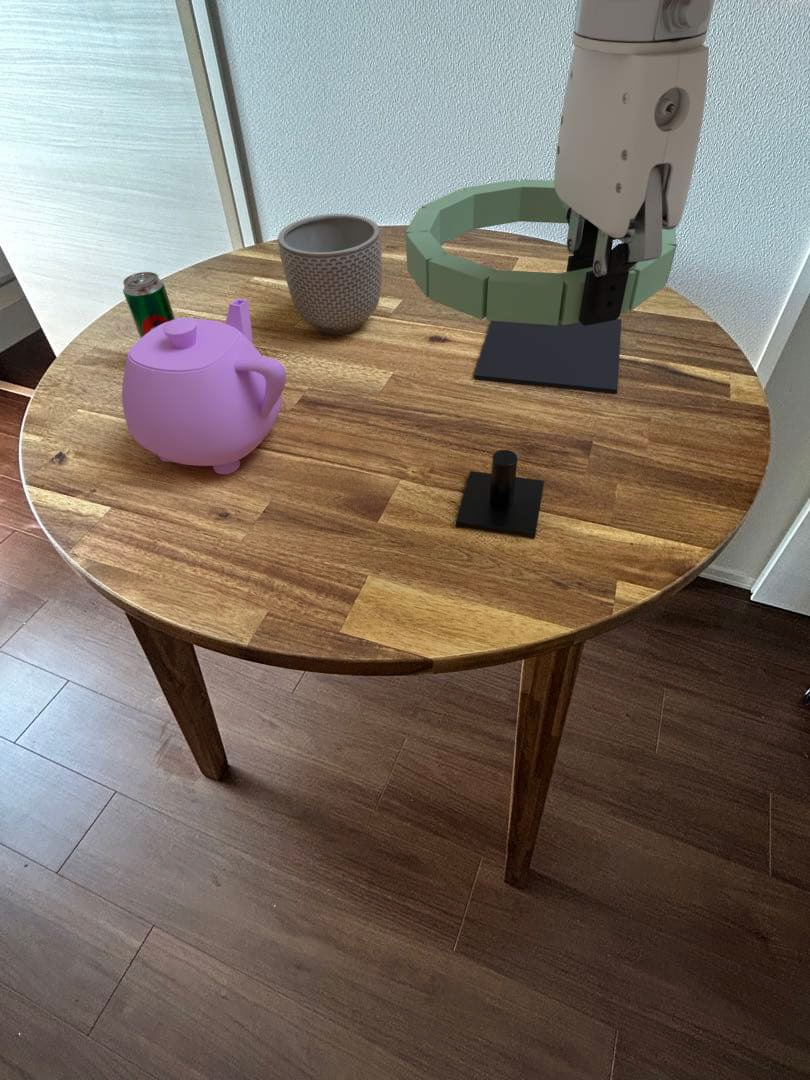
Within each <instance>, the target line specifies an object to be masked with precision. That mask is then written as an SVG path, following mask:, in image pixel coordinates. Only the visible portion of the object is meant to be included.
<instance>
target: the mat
mask: <svg viewBox="0 0 810 1080" xmlns="http://www.w3.org/2000/svg"><path fill="white" fill-rule="evenodd" d="M621 333H622V319H621V318H618V319H616V320H612V321H607V322H602V323H597V324H592V325H587V326H584V325H582V324H581V323H580V322H577V323H572V324H568V325H562V324H561V323H560V322H558V325H543V324H529V323H515V322H501V321H490V325H489V327H488V331H487V334H486V337H485V340H484V343H483V346H482V348H481V352H480V355H479V358H478V361H477V364H476V367H475V371H474V374H473V379H474V380H482V381H492V382H500V383H501V382H502V383H509V384H511V383H512V384H519V385H520V384H521V385H531V386H541V387H548V388H549V387H550V388H559V389H569V390H579V391H587V392H599V393H607V394H618V389H619V373H620V372H619V370H620V353H621V352H620V351H621V350H620V349H621Z"/></svg>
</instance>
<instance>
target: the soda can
mask: <svg viewBox="0 0 810 1080" xmlns="http://www.w3.org/2000/svg"><path fill="white" fill-rule="evenodd" d="M122 284H123V289H122V293H123V295H124V298H125V301H126V303H127V306H128V309H129V311H130V314H131V317H132V319H133V322H134V325H135V328H136V331H137V334H138V336H139V339H141V338H142V337H143V336H144V335H146V334H147V333H148V332H149V331H151V330H152V329H154V328H155V327H157V326H159V325H161V324H163V323H166V322H169V321H171V320H174V319H176V317H175V315H174V312H173V307H172V305H171V302H170V299H169V296H168V292H167V290H166V287H165V283H164V281H162V280H161V278H159V274H157V273H156V272H152V271H140V272H136V273H133V274H130V275H128V276H127V277H125V278H124V279H123V282H122Z"/></svg>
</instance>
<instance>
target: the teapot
mask: <svg viewBox="0 0 810 1080" xmlns="http://www.w3.org/2000/svg"><path fill="white" fill-rule="evenodd" d="M286 381H287V372H286V369H285V366H284V365H283V364H282V362H281V361H279V360H278V359H275V358H272V357H268V356H263V354H262V353H261V352H260V351H259V350H258V349H257V347H256V346H255V345H254V343H253V333H252V322H251V312H250V301H249V299H243V298H239V297H237V298H236V299H234V300H233V301H231V302H230V303H229V304H228V311H227V316H226V318H225V322H221V321H218V320H212V319H205V318H204V319H203V318H191V317H178V318H175V319H174V320H171V321H169V322H166V323H163V324H161V325H159V326H157V327H155V328H154V329H152V330H151V331H149V332H148V333H147V334H146V335H144V336H143V337H142V338H141V339H140V338H139V339H138V340H137V341H136V342H135V343H134V344H133V345H132V347H131V348H130V349H129V351H128V353H127V357H126V361H125V365H124V371H123V378H122V387H121V389H122V390H121V401H122V402H121V403H122V409H123V415H124V419H125V423H126V426H127V429H128V432H129V434H130V436H131V437H132V438H133V439H134V440H135V442H136V443H138V444H139V445H140V446H141V447H143V448H144V449H146V450H147V451H149V452H150V453H153V454H155V455H156V456H159V459H160V460H161V462H162V461H163V462H165V463H172V462H173V463H176V464H181V465H187V466H195V467H196V466H198V467H200V466H201V467H207V466H209V467H211V466H212V468H213V471H214V472H215V473H217V474H219V475H229V474H232V473H234V472H236V471H237V470H238V469H239V468H240V465H241V462H240V460H241V459H243V458H245V457H246V456H248V455H249V454H250V453H251V452H253V451H254V450H255V449H256V448H257V447H258V446H259V445H261V443H262V442H263V441H264V440H265V438H266V437H267V436H268V434H269V433H270V432H271V429H272V428H273V426H274V424H275V423H276V421H277V419H278V417H279V415H280V412H281V410H282V405H283V403H282V402H283V397H282V393H283V392H284V389H285V387H286V383H287V382H286Z"/></svg>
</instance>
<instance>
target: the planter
mask: <svg viewBox="0 0 810 1080" xmlns="http://www.w3.org/2000/svg"><path fill="white" fill-rule="evenodd" d="M382 246H383V245H382V233H381V229H380V227H379V225H378V224H377V223H376V221H373V220H372V219H370V218H367V217H364V216H361V215H355V214H349V213H329V214H319V215H314V216H309V217H305V218H302V219H299V220H296V221H294V222H292V223H290V224H288V225H287V226H285V227H284V228H283V229H282V230H281V231H280V232H279V233H278V236H277V247H278V253H279V256H280V261H281V265H282V269H283V271H284V272H283V273H284V277H285V280H286V283H287V287H288V291H289V295H290V297H291V300H292V303H293V306H294V307H295V310H296V311H297V313H298V315H299V316H300V317H301V318H302V319H303V320H305V321H306V322H308V323H309V324H310V325H313V326H315V327H316V328H317V329H318V330H319V331H320V332H322V333H324V334H328V335H345V334H350V333H353V332H355V331H357V330H358V329H360V328H361V327H362V326H363V324H364V322H366V320H367V319H369V318H370V317H371V316H372V315H373V314H374V312H375V311H376V309H377V308H378V306H379V304H380V303H379V302H380V298H381V293H382V291H381V290H382V273H383V267H382V265H383V263H382V260H383V259H382V251H383V250H382Z"/></svg>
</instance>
